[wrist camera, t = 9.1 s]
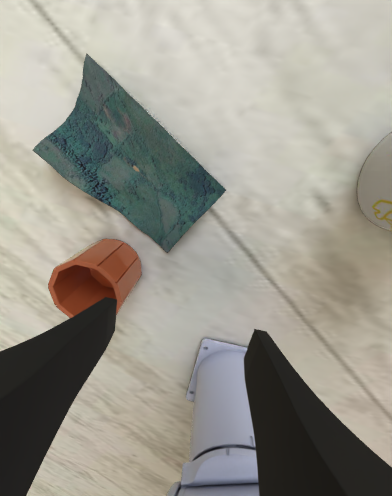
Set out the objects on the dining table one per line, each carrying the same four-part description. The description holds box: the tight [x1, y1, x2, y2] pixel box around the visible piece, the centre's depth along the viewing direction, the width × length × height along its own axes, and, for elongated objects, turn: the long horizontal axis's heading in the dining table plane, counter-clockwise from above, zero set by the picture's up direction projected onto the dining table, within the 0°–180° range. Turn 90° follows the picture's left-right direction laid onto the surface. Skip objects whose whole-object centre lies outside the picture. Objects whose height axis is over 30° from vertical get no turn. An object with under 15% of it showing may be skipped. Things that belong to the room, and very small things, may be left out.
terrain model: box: [33, 54, 226, 253], centre depth 17 cm, size 13×8×2 cm, turn 48°
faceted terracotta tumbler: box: [48, 239, 142, 318], centre depth 18 cm, size 5×6×5 cm
